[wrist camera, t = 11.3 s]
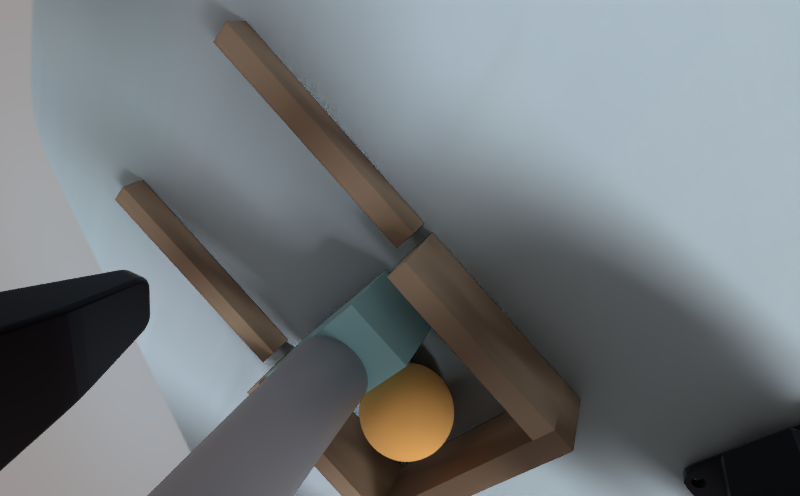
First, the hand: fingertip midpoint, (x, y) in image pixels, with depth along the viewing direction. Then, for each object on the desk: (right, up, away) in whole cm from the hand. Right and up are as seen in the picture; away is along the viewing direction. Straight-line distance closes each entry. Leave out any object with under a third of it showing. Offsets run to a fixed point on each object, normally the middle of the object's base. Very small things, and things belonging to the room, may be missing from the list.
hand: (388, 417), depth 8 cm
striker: (-1, -1, +16) cm, 16 cm away
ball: (0, -4, +15) cm, 15 cm away
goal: (-3, +1, +16) cm, 17 cm away
